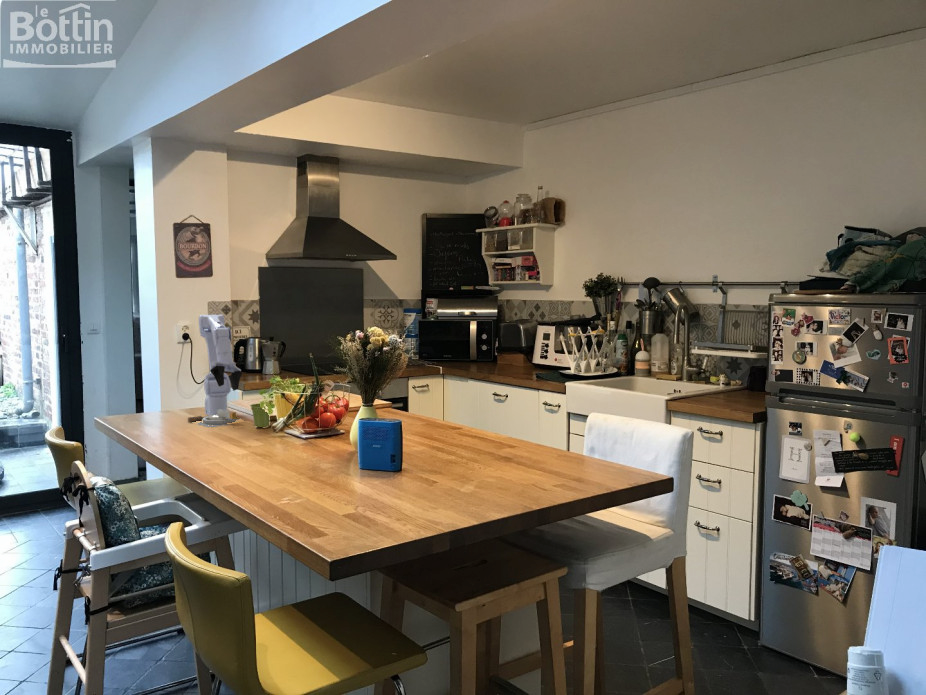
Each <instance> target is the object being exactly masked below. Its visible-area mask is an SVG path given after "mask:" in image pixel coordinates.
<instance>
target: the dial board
mask: <svg viewBox="0 0 926 695" xmlns="http://www.w3.org/2000/svg"><path fill="white" fill-rule="evenodd" d="M204 417H205V416H204ZM236 418H237V417H236ZM236 418H235V419H226V420H209V417H205V418H203V419H202V420H203V423H202V422H200V423H198V426H201V425H202V426H203V427H206V428H210V427H211V428H216V427H223V425H224V426H229V424H227V423H232V422H235V421H236V420H239V419H236ZM208 425H209V426H208ZM212 425H213V426H212Z"/></svg>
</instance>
